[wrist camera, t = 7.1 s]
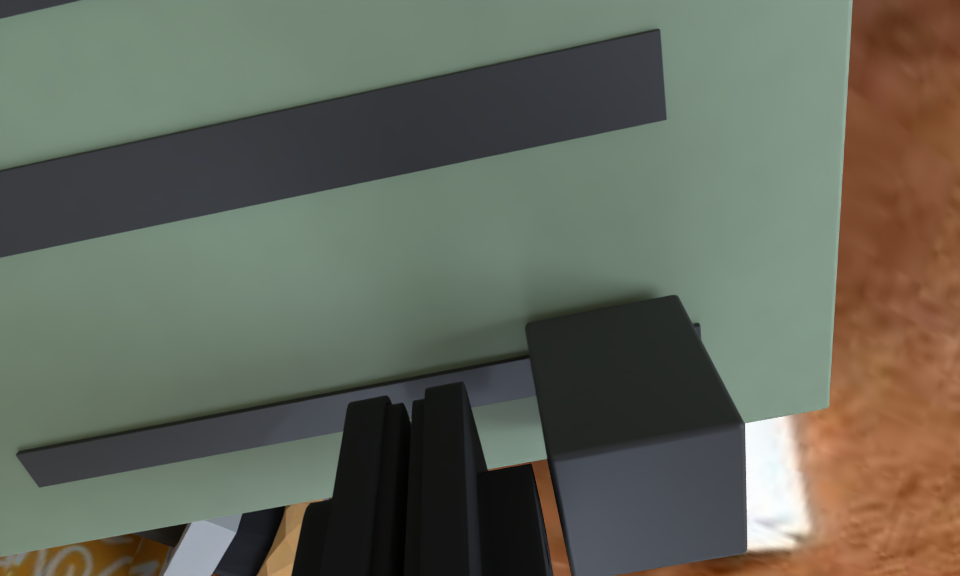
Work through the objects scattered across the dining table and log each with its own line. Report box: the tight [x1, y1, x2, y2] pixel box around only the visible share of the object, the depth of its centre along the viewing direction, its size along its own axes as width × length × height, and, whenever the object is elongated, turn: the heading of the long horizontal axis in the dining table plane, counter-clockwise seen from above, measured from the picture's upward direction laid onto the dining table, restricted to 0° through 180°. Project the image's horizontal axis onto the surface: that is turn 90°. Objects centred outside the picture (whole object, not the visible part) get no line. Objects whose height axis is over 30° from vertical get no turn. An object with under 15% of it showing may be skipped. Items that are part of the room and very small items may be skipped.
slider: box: [525, 295, 747, 576], centre depth 11 cm, size 2×2×3 cm
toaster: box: [0, 0, 853, 557], centre depth 15 cm, size 12×16×11 cm
